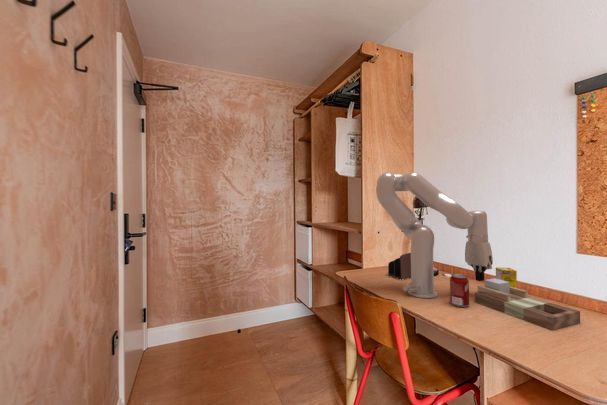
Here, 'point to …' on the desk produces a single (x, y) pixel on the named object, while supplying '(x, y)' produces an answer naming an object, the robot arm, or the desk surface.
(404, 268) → the letter holder
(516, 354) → the desk surface
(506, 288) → the block
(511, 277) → the supplement box
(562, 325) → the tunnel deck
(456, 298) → the soda can
